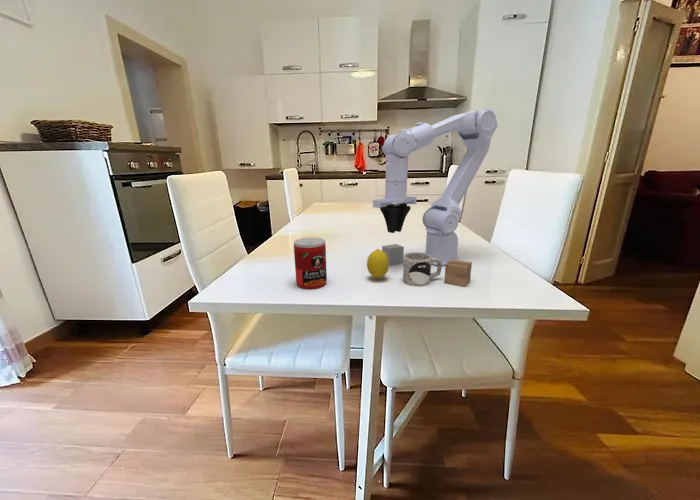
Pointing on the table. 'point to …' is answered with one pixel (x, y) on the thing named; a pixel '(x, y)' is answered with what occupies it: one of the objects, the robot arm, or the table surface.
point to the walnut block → (457, 272)
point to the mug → (419, 269)
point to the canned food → (310, 262)
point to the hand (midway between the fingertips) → (394, 231)
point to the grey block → (394, 253)
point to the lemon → (377, 263)
